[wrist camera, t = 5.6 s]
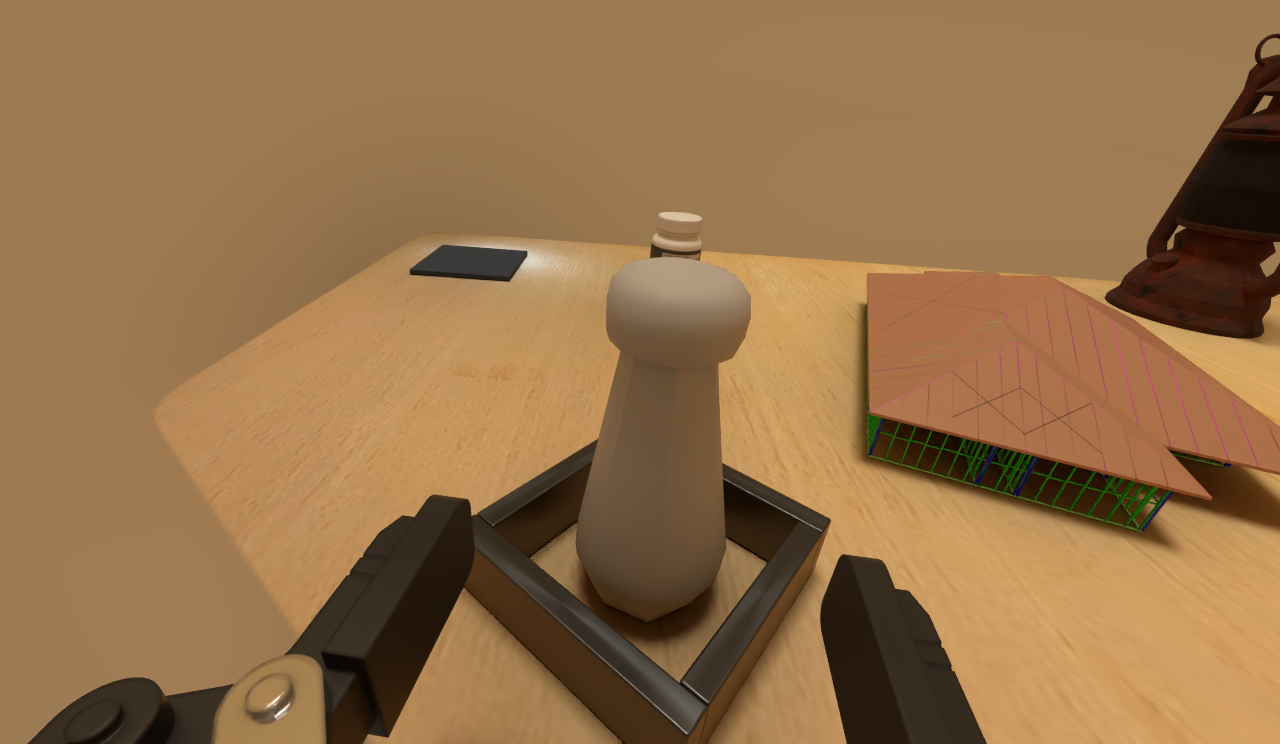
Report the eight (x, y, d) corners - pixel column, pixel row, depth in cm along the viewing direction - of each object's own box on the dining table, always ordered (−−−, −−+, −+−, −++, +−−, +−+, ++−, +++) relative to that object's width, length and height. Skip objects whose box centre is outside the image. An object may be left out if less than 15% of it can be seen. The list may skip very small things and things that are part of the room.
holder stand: (675, 793, 14) (688, 738, 13) (459, 583, 20) (452, 527, 18) (813, 570, 21) (832, 518, 20) (629, 462, 27) (633, 416, 25)
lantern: (1069, 285, 67) (1206, 16, 53) (1173, 295, 67) (1340, 27, 53) (1183, 337, 52) (1418, -21, 38) (1319, 351, 52) (1609, -5, 37)
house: (1102, 341, 49) (1148, 259, 45) (1399, 613, 22) (1580, 468, 18) (858, 295, 56) (880, 221, 52) (852, 459, 29) (898, 330, 25)
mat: (509, 281, 51) (509, 276, 51) (410, 274, 51) (409, 269, 50) (527, 255, 60) (527, 251, 60) (443, 248, 59) (442, 244, 59)
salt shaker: (719, 538, 23) (780, 255, 16) (711, 659, 18) (795, 318, 11) (594, 513, 23) (609, 234, 17) (553, 622, 18) (552, 283, 12)
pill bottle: (648, 291, 52) (655, 208, 48) (693, 296, 51) (704, 213, 47) (644, 308, 47) (652, 218, 43) (693, 313, 47) (706, 223, 43)
